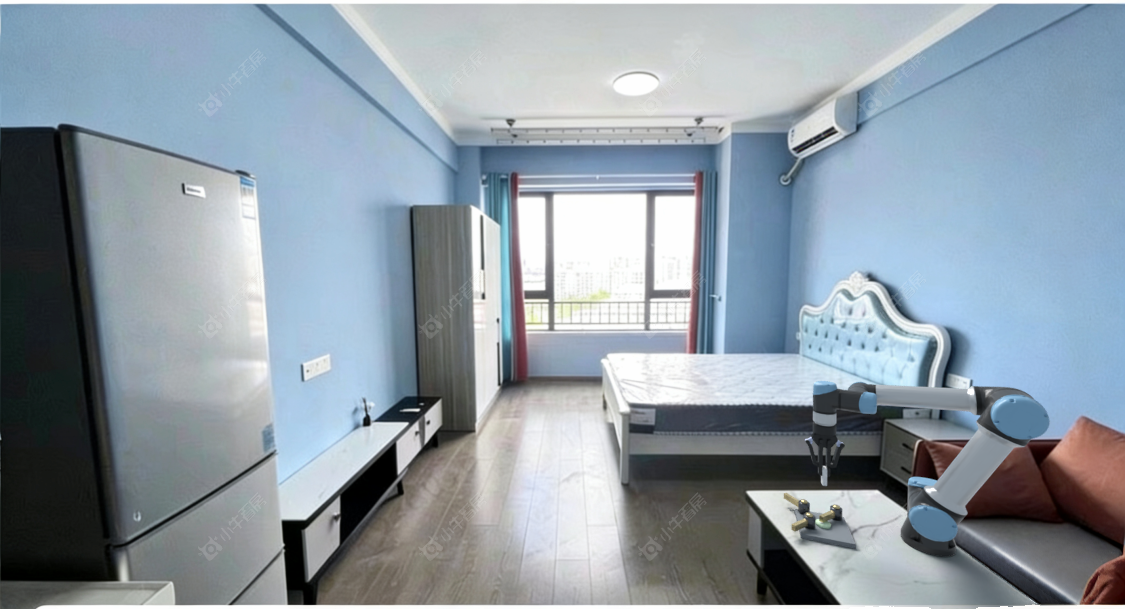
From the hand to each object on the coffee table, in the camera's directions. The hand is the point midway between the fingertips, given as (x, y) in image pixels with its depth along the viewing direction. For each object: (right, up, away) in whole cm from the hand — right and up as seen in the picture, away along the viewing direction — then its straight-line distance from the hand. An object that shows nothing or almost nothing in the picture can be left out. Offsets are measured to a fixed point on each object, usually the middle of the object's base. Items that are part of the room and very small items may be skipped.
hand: (824, 484), depth 158 cm
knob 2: (-9, -17, -1) cm, 19 cm away
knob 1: (-3, -16, +14) cm, 21 cm away
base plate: (+1, -18, +2) cm, 18 cm away
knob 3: (+5, -16, +4) cm, 17 cm away
